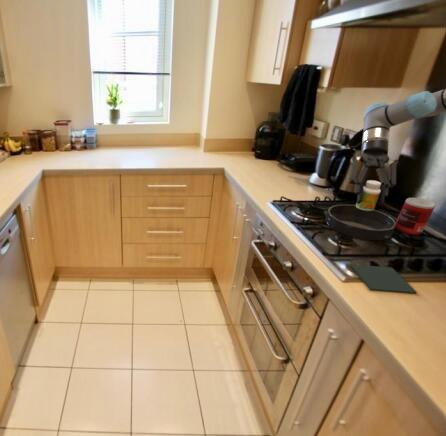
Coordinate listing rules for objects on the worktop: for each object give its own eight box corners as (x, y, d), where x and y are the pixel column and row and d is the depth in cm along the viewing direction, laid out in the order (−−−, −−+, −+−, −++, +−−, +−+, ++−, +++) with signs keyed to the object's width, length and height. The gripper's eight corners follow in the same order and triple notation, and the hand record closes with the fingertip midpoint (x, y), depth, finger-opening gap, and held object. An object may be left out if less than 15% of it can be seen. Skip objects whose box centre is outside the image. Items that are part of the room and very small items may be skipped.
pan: (372, 215, 123) (376, 205, 121) (405, 242, 105) (410, 232, 103) (316, 212, 126) (319, 203, 124) (339, 238, 108) (343, 228, 106)
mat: (391, 268, 93) (391, 267, 93) (416, 294, 83) (417, 292, 83) (350, 266, 94) (351, 264, 94) (370, 290, 85) (370, 288, 85)
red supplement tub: (420, 228, 113) (433, 200, 108) (423, 237, 107) (437, 209, 102) (393, 222, 117) (405, 195, 112) (394, 231, 111) (407, 203, 106)
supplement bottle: (353, 208, 112) (362, 182, 107) (357, 203, 115) (366, 178, 111) (372, 212, 109) (382, 186, 104) (375, 207, 112) (385, 182, 107)
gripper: (401, 151, 113) (398, 211, 107) (341, 147, 120) (335, 203, 114) (412, 140, 106) (409, 203, 101) (348, 136, 113) (342, 195, 107)
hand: (370, 203), depth 107 cm, fingers closed on supplement bottle, 5 cm apart
